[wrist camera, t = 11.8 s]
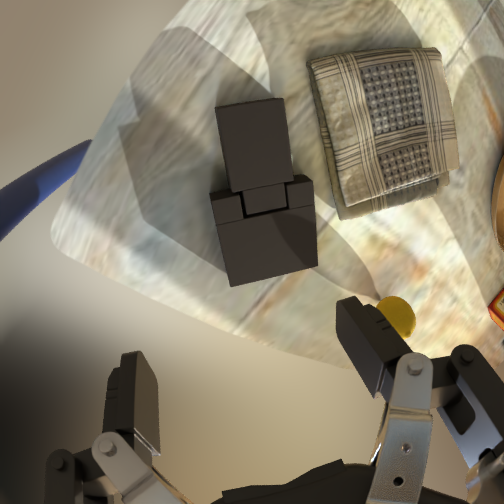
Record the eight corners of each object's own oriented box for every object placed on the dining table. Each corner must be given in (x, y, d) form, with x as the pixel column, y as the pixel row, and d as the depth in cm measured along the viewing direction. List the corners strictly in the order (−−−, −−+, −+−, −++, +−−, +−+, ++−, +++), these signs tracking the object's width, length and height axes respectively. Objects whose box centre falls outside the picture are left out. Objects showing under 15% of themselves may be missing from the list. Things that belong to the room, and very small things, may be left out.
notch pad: (227, 275, 36) (230, 287, 33) (209, 193, 31) (210, 201, 28) (310, 255, 37) (318, 266, 34) (304, 174, 32) (313, 180, 29)
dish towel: (299, 59, 26) (311, 56, 23) (430, 47, 26) (448, 46, 23) (335, 222, 35) (347, 234, 32) (446, 183, 36) (461, 191, 33)
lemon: (358, 312, 43) (384, 349, 36) (379, 281, 41) (410, 316, 34) (382, 318, 45) (407, 352, 38) (402, 290, 43) (431, 323, 36)
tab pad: (233, 208, 32) (236, 217, 30) (214, 107, 27) (216, 108, 24) (288, 196, 32) (296, 204, 30) (276, 97, 27) (283, 97, 25)
